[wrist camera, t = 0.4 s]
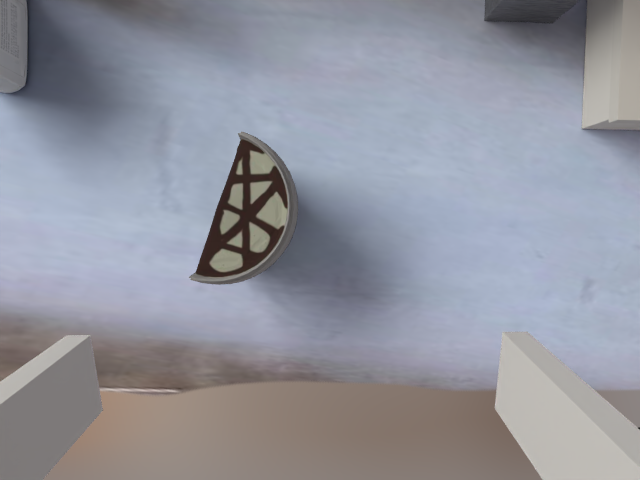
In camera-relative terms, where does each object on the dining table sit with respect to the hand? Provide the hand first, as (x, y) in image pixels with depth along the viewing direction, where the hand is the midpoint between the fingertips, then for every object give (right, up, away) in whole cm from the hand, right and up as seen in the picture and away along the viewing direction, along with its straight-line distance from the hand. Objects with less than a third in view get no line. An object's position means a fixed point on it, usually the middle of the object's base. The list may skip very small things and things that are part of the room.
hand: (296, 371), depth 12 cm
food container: (-5, +6, +26) cm, 27 cm away
